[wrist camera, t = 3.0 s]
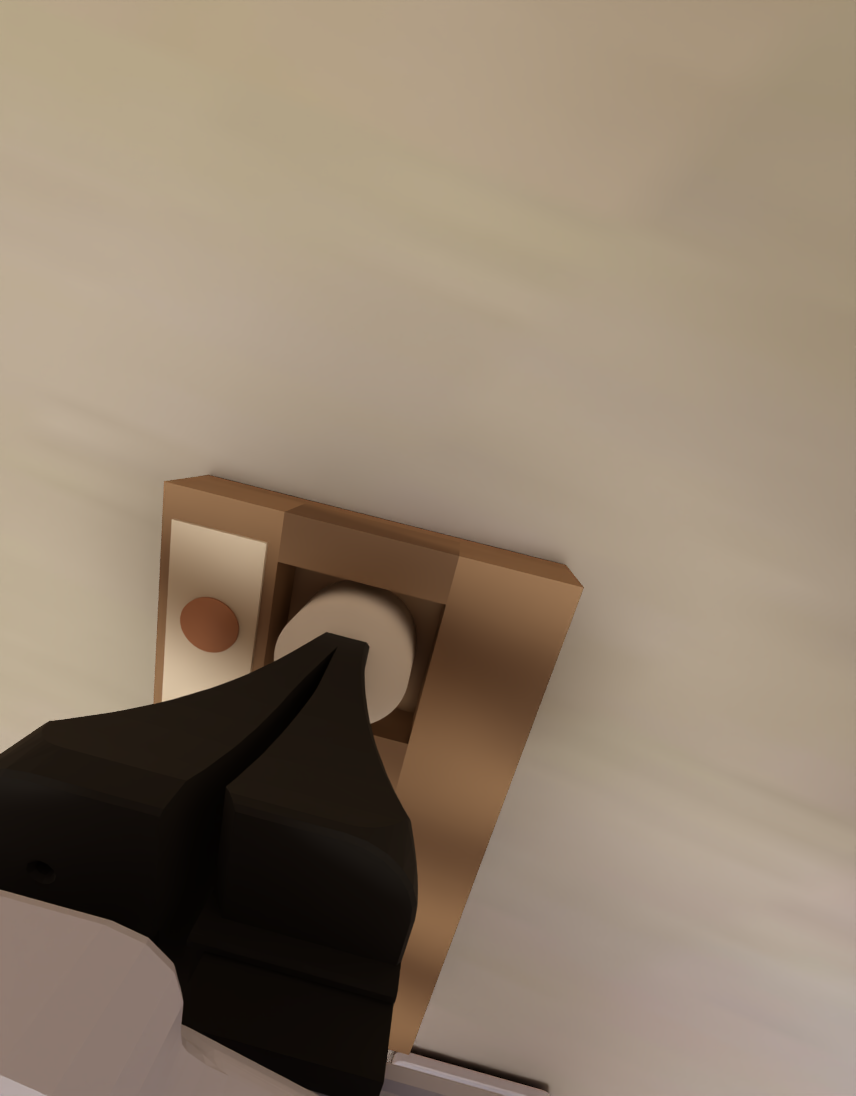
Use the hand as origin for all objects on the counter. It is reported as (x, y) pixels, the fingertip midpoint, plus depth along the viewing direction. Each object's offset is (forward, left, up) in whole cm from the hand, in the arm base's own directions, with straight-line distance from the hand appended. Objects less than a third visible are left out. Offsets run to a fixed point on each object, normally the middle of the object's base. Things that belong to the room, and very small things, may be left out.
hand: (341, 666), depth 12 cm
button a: (0, 0, -2) cm, 2 cm away
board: (-7, 0, -2) cm, 7 cm away
